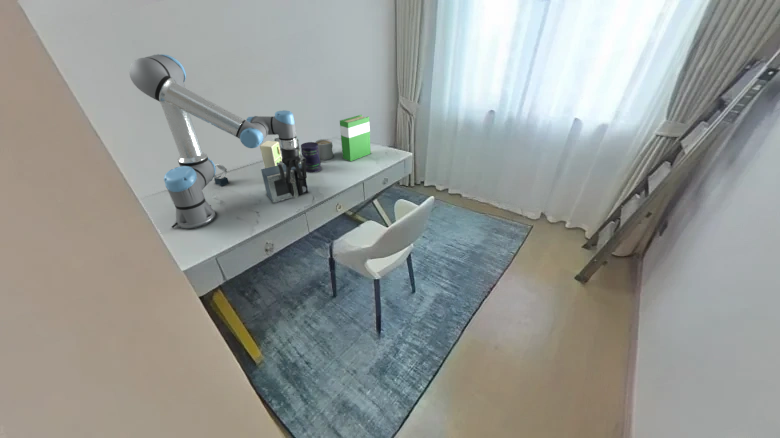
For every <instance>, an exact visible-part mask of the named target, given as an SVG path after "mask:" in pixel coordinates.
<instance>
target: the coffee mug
mask: <svg viewBox="0 0 780 438" xmlns="http://www.w3.org/2000/svg"><path fill="white" fill-rule="evenodd" d="M315 143H317V144H318V148H319V159H320V161H327V160H331V159H333V157H334V155H333V142H332V140H331V139H329V138H327V139H326V138H321V139H318V140H316V141H315Z"/></svg>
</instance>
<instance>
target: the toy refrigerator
mask: <svg viewBox="0 0 780 438" xmlns="http://www.w3.org/2000/svg"><path fill="white" fill-rule="evenodd" d="M259 149H260V154H261V158H262V162H263V166H264V169H265V168H269V167H273V166H277V162H278V163H279V162H281V161H282V153H281V147H280V141H275V140H266V141H264V142H262V143H261V144H260V145H259Z"/></svg>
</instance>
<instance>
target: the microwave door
mask: <svg viewBox="0 0 780 438" xmlns="http://www.w3.org/2000/svg"><path fill="white" fill-rule="evenodd" d="M284 175H285V180H286V172H284ZM267 179H268V183H269V188H270V192H271V196H272V200H271V202H272V203H273V204H275V203H279V202H282V201H285V200H288V199H293V198H294V199H297V198H299V195H298V191H297V186H296V180H295V174H294V171H293V170H291V172H290V182H291V183H292V188H293V194H294V196H292V195H291V194H290V189H288V188H287V184H286V183H283V182H282V180H281V175H280V173H279V174H275V175H271V176H267Z"/></svg>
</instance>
